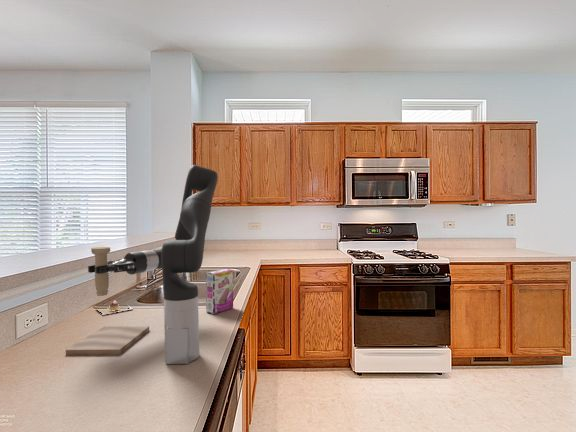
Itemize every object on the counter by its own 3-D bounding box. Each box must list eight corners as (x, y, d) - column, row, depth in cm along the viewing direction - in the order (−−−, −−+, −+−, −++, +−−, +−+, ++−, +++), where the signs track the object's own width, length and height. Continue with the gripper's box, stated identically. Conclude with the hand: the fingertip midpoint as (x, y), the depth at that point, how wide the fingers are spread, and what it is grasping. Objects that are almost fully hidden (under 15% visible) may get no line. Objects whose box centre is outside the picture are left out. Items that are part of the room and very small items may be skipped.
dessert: (94, 311, 147) (94, 300, 147) (124, 305, 155) (124, 295, 155) (102, 317, 138) (102, 305, 138) (133, 311, 146) (133, 300, 146)
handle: (105, 292, 114) (103, 246, 113) (115, 294, 110) (113, 247, 109) (89, 295, 110) (87, 248, 109) (99, 298, 106) (97, 249, 106)
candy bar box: (214, 314, 138) (213, 273, 138) (205, 312, 141) (205, 272, 141) (234, 308, 147) (233, 269, 147) (226, 306, 150) (225, 268, 150)
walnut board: (119, 354, 101) (119, 349, 101) (65, 354, 101) (65, 349, 101) (149, 330, 121) (149, 326, 121) (103, 330, 121) (103, 326, 121)
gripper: (128, 250, 125) (79, 256, 111) (154, 252, 118) (105, 259, 103) (129, 270, 125) (80, 279, 111) (155, 274, 118) (105, 284, 103)
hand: (92, 269), depth 107 cm, fingers closed on handle, 3 cm apart
